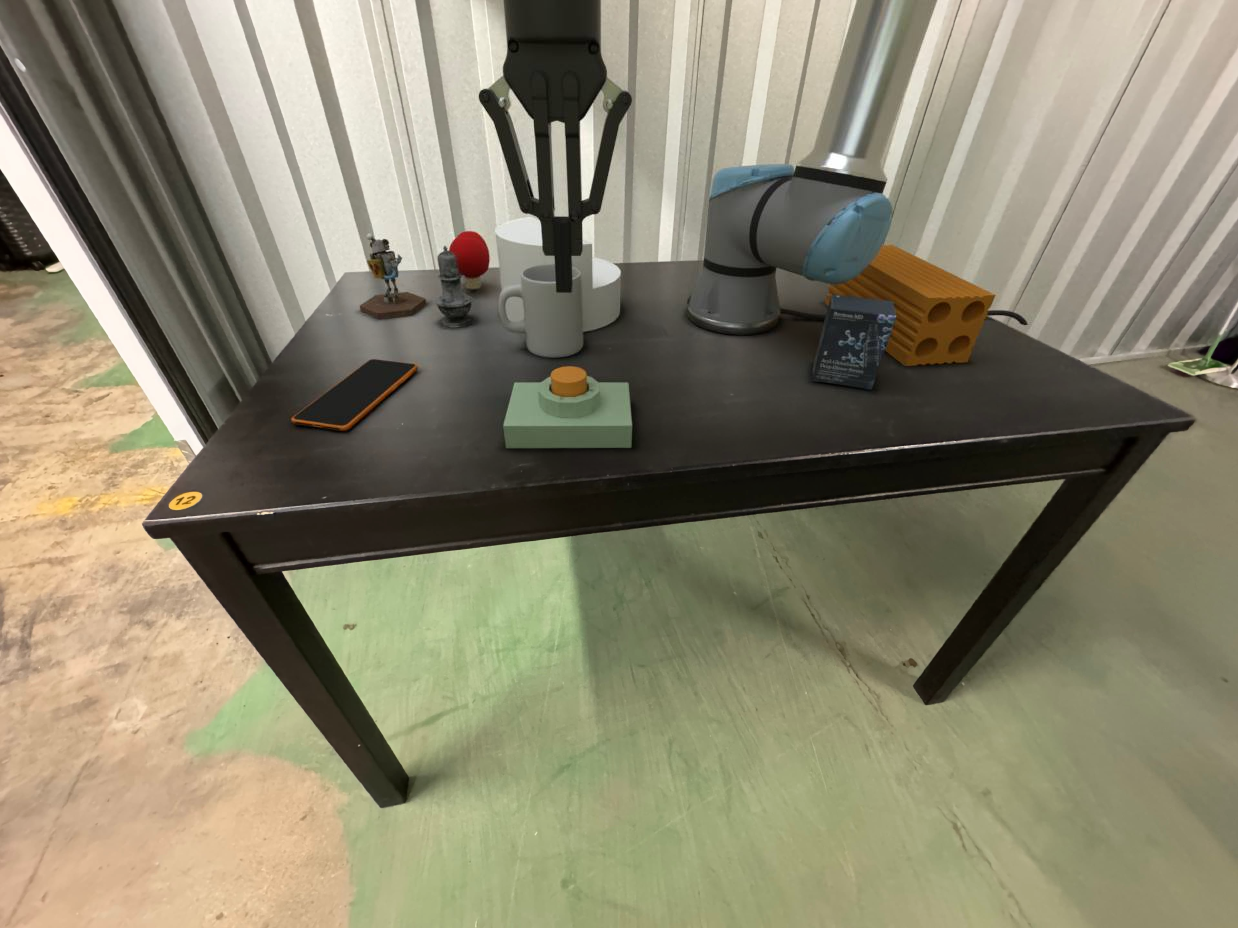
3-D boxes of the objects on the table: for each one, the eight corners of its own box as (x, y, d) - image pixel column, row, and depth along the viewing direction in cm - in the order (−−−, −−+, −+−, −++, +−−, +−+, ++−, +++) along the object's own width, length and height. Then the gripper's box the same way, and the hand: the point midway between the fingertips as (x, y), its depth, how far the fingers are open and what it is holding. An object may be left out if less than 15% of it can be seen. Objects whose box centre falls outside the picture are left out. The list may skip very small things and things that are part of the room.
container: (643, 317, 93) (646, 234, 85) (537, 343, 84) (530, 253, 76) (582, 284, 106) (580, 210, 98) (485, 304, 97) (474, 223, 89)
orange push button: (587, 382, 64) (586, 366, 63) (586, 399, 61) (586, 382, 60) (552, 382, 64) (551, 366, 63) (550, 399, 61) (549, 382, 60)
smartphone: (290, 424, 64) (287, 418, 64) (372, 363, 77) (370, 358, 77) (347, 433, 63) (345, 426, 62) (421, 369, 76) (420, 363, 76)
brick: (967, 362, 81) (995, 295, 75) (904, 366, 80) (928, 298, 74) (875, 301, 101) (892, 245, 95) (824, 303, 100) (838, 246, 94)
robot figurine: (436, 308, 95) (423, 235, 88) (389, 323, 89) (370, 247, 82) (399, 293, 101) (384, 224, 94) (352, 307, 95) (332, 234, 88)
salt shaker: (466, 329, 88) (454, 252, 81) (432, 326, 89) (417, 249, 82) (481, 316, 92) (471, 242, 85) (448, 313, 93) (435, 239, 86)
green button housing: (627, 403, 70) (628, 367, 67) (631, 448, 62) (632, 409, 59) (516, 403, 69) (512, 367, 66) (505, 448, 61) (500, 409, 58)
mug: (578, 333, 87) (576, 262, 81) (587, 355, 81) (586, 280, 74) (502, 338, 85) (493, 266, 79) (504, 362, 79) (495, 285, 72)
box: (811, 382, 75) (830, 307, 69) (812, 365, 79) (830, 292, 73) (872, 391, 73) (897, 315, 67) (870, 373, 77) (893, 299, 71)
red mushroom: (487, 299, 99) (480, 241, 93) (449, 299, 99) (439, 241, 93) (497, 283, 106) (491, 228, 100) (461, 282, 106) (453, 227, 100)
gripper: (454, -29, 39) (494, 300, 52) (640, -25, 39) (630, 301, 53) (474, -17, 45) (505, 276, 59) (634, -13, 45) (627, 277, 59)
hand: (564, 288), depth 56 cm, fingers closed
